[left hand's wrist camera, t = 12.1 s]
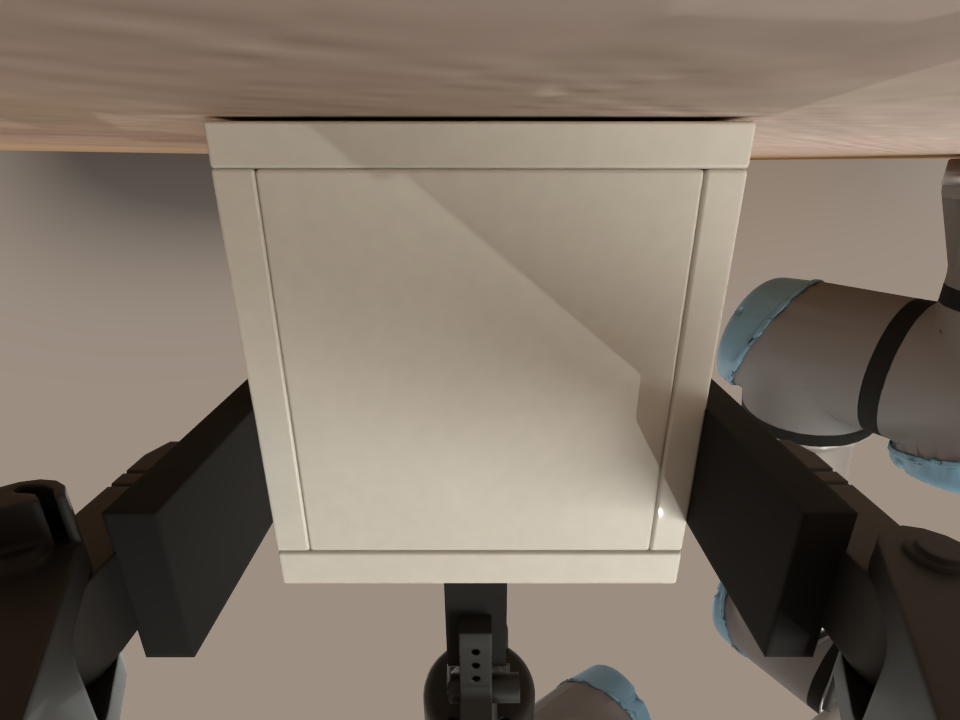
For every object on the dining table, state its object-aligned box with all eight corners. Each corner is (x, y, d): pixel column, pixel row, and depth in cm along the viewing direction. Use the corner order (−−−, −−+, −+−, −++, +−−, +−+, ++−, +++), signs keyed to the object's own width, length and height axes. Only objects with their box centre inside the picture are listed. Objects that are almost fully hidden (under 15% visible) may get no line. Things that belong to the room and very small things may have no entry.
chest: (574, 150, 24) (563, 325, 27) (385, 150, 24) (395, 325, 27) (758, 120, 8) (682, 551, 11) (201, 120, 8) (276, 551, 11)
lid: (562, 323, 28) (553, 462, 31) (397, 323, 28) (405, 462, 31) (682, 553, 11) (638, 801, 14) (276, 553, 11) (320, 801, 14)
